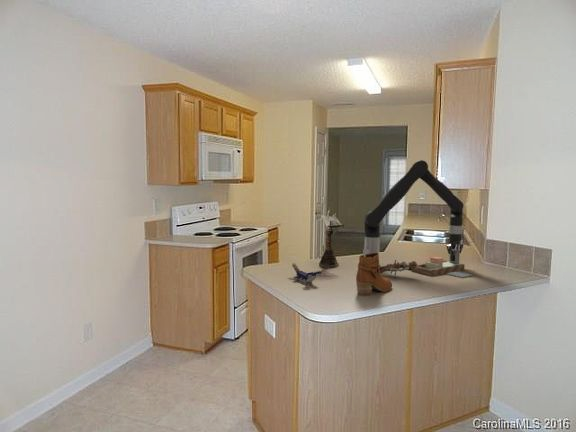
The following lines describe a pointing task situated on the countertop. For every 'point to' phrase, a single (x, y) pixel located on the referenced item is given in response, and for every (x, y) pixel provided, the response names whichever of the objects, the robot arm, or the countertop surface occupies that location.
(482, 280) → the countertop surface
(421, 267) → the lane board
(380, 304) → the countertop surface
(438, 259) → the cube
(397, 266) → the figurine
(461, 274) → the pad
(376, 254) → the boot
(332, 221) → the bird statue
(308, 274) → the toy
